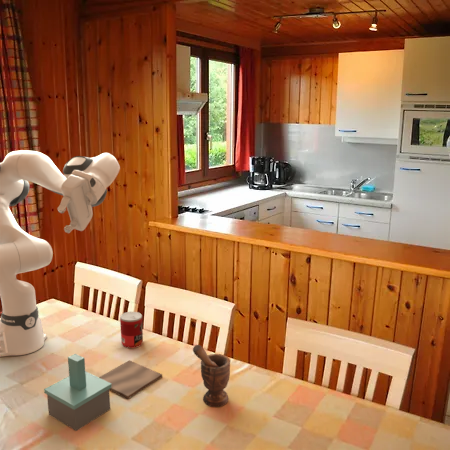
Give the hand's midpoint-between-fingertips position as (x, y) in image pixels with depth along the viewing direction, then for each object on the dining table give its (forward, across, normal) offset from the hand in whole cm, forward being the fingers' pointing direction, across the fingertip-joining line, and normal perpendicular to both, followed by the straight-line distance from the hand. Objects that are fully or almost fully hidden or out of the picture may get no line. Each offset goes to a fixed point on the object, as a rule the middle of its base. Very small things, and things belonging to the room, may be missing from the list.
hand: (63, 221), depth 147 cm
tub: (+41, -28, +26) cm, 56 cm away
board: (+24, -38, +31) cm, 55 cm away
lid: (+38, -23, +24) cm, 50 cm away
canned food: (+7, -52, +22) cm, 57 cm away
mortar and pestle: (+24, -29, +60) cm, 71 cm away
